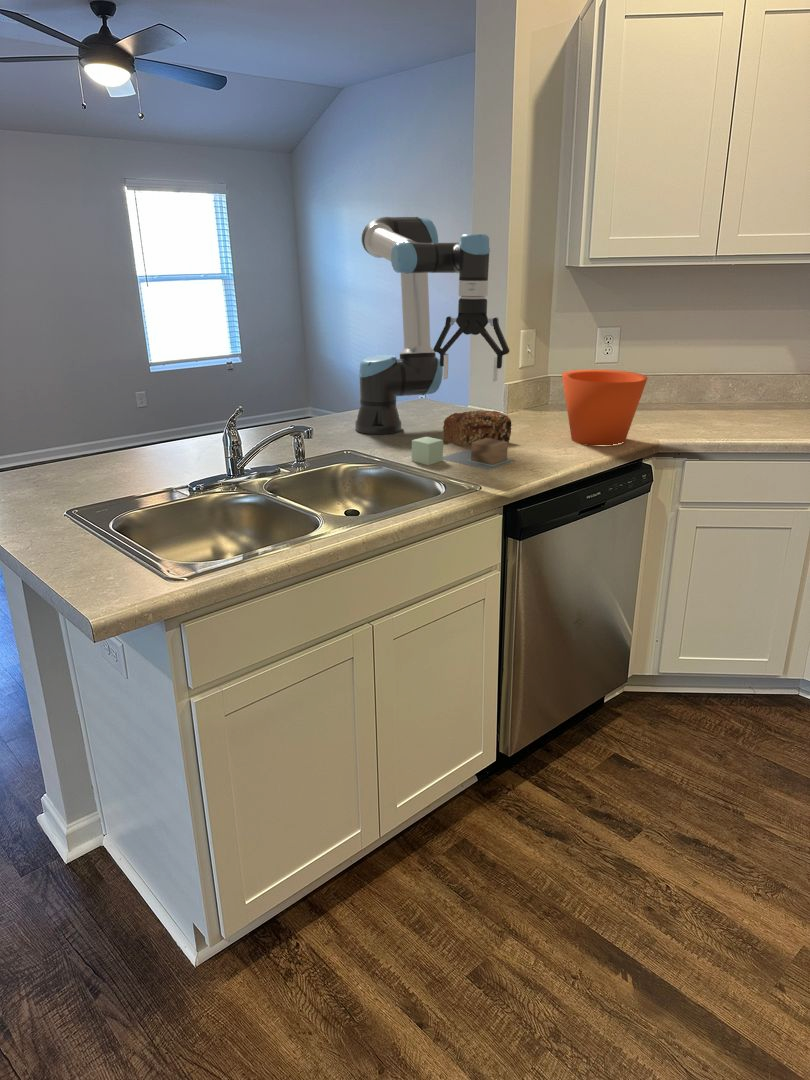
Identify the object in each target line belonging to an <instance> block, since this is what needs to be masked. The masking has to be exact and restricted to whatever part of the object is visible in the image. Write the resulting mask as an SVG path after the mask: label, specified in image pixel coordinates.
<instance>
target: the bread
mask: <svg viewBox="0 0 810 1080" xmlns="http://www.w3.org/2000/svg"><path fill="white" fill-rule="evenodd" d="M442 429H443V430H442V432H443V443H445V444H446V445H449V444H453V445H456V446H459V447H461V446H463V447H464V446H470V445H471V446H472V442H475V441H478V440H482V439H485V438H490V439H495V440H500V441H505V442H508V443H510V439H511V435H512V421H511V418H510V416H508V415H506V414H504V413H502V412H501V411H496V410H492V411H491V410H483V409H482V410H481V409H480V410H479V409H478V410H470V411H464V412H454V413H453V414H449V416H447V417H446V418H444V420H443V426H442Z"/></svg>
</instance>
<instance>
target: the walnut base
mask: <svg viewBox="0 0 810 1080" xmlns="http://www.w3.org/2000/svg"><path fill="white" fill-rule="evenodd" d="M508 444H509V442H505V441H500V440H495V439H490V438H485V439H482V440H478V441H475V442H472V445H471V449H470V450H471V460H472V461H476V462H481V463H485V464H490V465H493V464H496V463H499V462H502V461H505V460H507V458H508V449H509V447H508V446H509V445H508Z"/></svg>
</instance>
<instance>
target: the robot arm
mask: <svg viewBox="0 0 810 1080" xmlns="http://www.w3.org/2000/svg"><path fill="white" fill-rule="evenodd" d="M361 243H362V246H363V249H364V250H365V252H366V253H368V254H369V255H370V256H372V257H374V258H381V259H382V258H383V259H385V260H387V261H389V262H391V266H392V269H393V271H394V272H396V273H399V274H400V287H401V305H402V306H401V308H402V309H401V310H402V312H401V313H402V331H403V349H402V350H401V351H400V352H399V358H398V359H397V356H396V355H394V354H379V355H373V356H369V357H366V358H364V359H361V361H360V363H359V373H358V377H359V399H360V400H359V403H360V404H359V405H360V406H359V409H358V412H357V418H356V420H355V423H354V425H355V428H354V429H355V431H357V432H358V433H362V434H369V435H387V434H388V435H389V434H394V433H398V432H400V431H402V420H401V419H400V415H399V411H398V406H397V397H406V396H408V397H409V396H425V395H432V394H435V393H436V392H437V391H438V390H439V389H440V386H441V384H442V381H443V380H448V379H449V353H447V352H448V350H450V348H451V347H452V345H453V344H454V343H455V342H456V341H457V340H458V339H459V338H460V336H461V335H462V334H464V335H467V336H468V335H474V336H476V335H479V334H480V335H481V336H482V337H483V339H484V340H485V341H486V342H487V343H488V345H489V346H490V347H491V349H492V350H493V352H494V353H495V355H494V357H493V376H492V377H493V378H492V382H497V381H498V373H499V371H498V370H499V369H501V368H502V367H503V356H505V355H508V354H509V353H510V348H509V346H508V343H507V341H506V339H505V336H504V334H503V332H502V330H501V327H500V323H499V322H500V321H499V319H500V318H499V317H497V316H496V317H491V318H489V317H488V315H487V314H488V312H487V311H488V300H487V298H486V297H487V296H488V292H489V291H488V290H489V289H488V288H489V267H490V265H489V263H490V252H491V248H490V237H489V235H488V234H486V233H485V234H483V233H480V234H479V233H465V234H462V235H460V239H459V242H439V234H438V230H437V228H436V225H435V224H434V222H433V221H432V220H431V219H430V218H428V217H419V216H411V217H409V216H382V217H378V218H375V219H373V220H371V221H370V222H368V223H367V225H366V226H365V227H364V228H363V231H362V233H361ZM429 273H430V274H433V273H434V274H435V273H437V274H438V273H439V274H443V273H444V274H451V273H452V274H459V277H458V296H459V297H460V298H459V299H458V306H457V308H458V309H457V311H458V312H457V317H453V316H451V315H448V316H447V317H446V318H445V323H444V327H443V329H442V331H441V333H440V335H439V337H438V339H437V341H436V343H435V345H434V347H432V346H431V328H430V327H431V325H430V324H431V323H430V296H429V295H430V294H429V293H430V292H429ZM455 323H456V324H457V326H458V329H457V330H456V332H455V333H454V334H453V336H451V337H450V339H449V340H448V341H447V342H446V344H444V341H445V339H446V337H447V335H448V334H449V331H450V329H451V328H452V327H451V326H453V325H455ZM488 324H490V326H491V327H493V329H494V332H495V335H496V337H497V340H498V342H499V344H500V347H501V348H500V347H499V346H498V344H497V343H496V341H495V340H494V339H493V338H492V336H491V335H490V333H489V331H487V329H486V327H487V325H488ZM443 344H444V346H443V347H442V345H443ZM436 353H438V354H439V355H440V356H439V357H438V356H436Z"/></svg>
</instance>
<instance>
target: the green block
mask: <svg viewBox="0 0 810 1080" xmlns="http://www.w3.org/2000/svg"><path fill="white" fill-rule="evenodd" d="M443 455H444V439H439V438H434V437H430V436H423V437H418V438H415V439H412V440H411V462H415V463H418V464H424V465H426V466H430V465H433V464H437V463H441V462H442V461H444V460H443V457H444V456H443Z"/></svg>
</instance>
